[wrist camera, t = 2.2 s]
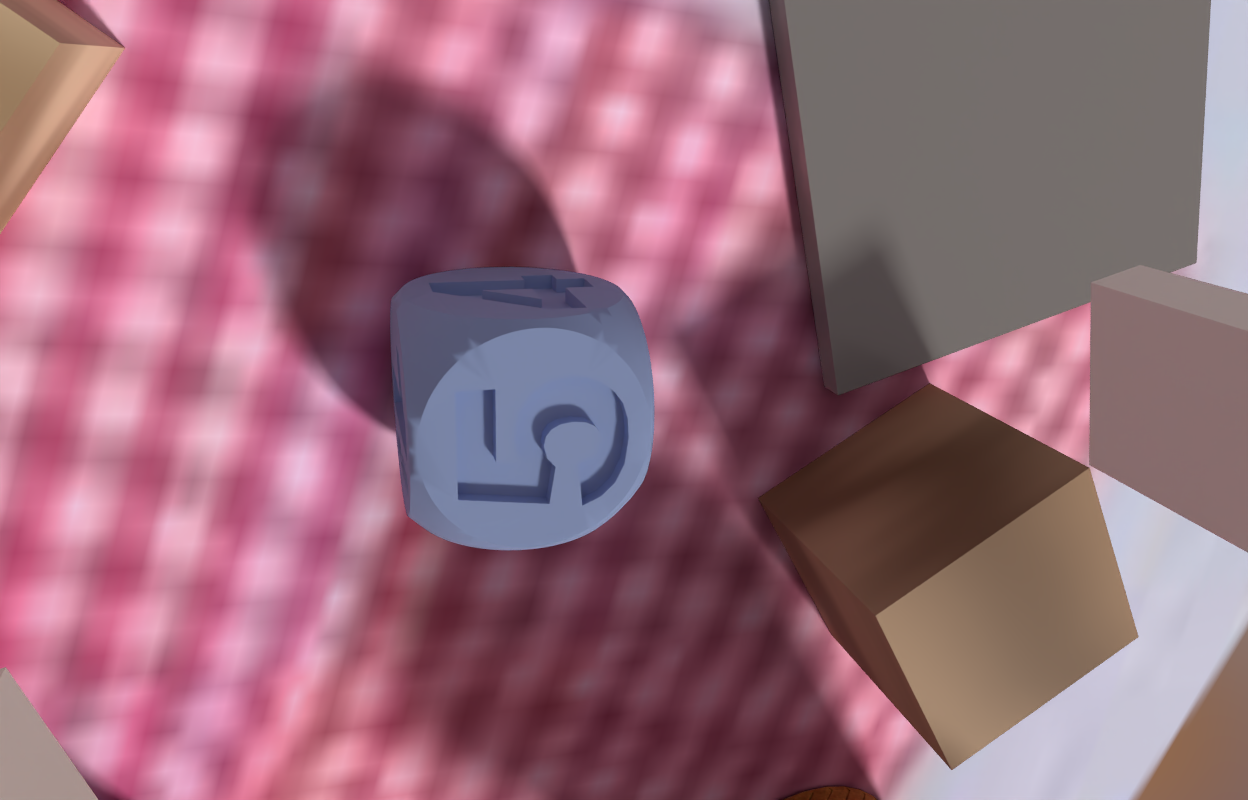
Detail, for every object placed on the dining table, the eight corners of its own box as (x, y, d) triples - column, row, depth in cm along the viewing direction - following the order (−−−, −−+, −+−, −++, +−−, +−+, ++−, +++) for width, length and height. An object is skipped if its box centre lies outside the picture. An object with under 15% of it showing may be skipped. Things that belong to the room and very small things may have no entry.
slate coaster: (824, 386, 20) (838, 395, 19) (754, -104, 16) (769, -110, 15) (1175, 257, 22) (1195, 262, 21) (1195, -209, 18) (1223, -218, 17)
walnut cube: (830, 632, 23) (951, 770, 18) (756, 496, 21) (875, 616, 16) (983, 527, 23) (1138, 636, 19) (927, 382, 21) (1089, 467, 17)
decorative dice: (385, 268, 16) (403, 326, 13) (593, 263, 17) (663, 315, 14) (396, 465, 18) (415, 567, 14) (588, 447, 19) (649, 537, 15)
